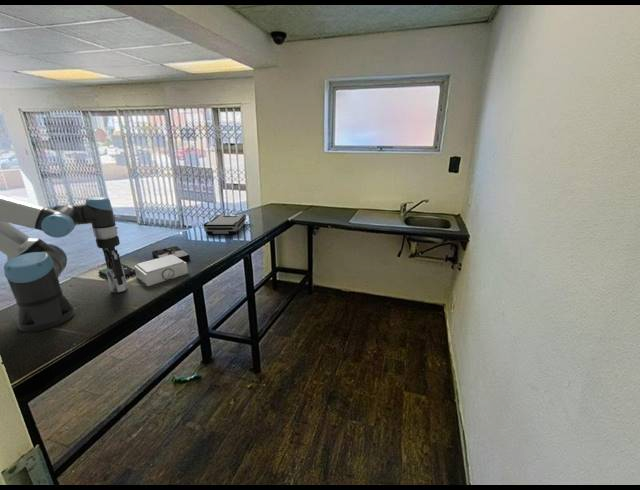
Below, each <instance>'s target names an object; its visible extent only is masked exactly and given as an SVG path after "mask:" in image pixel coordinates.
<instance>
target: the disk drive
mask: <svg viewBox="0 0 640 490" xmlns="http://www.w3.org/2000/svg"><path fill="white" fill-rule="evenodd" d="M121 266H123V269H124V273H125V278H126V279H128V278H127V277H129V278H131V277H134V276H136V273H135V268H132V267H130V266H127V265H125V264H123V263H121ZM106 269H107V267H106V268H103V269H99V271H98V275H99V276H101V277H103V278H105V279H106V278H107V274H106ZM133 275H134V276H133ZM130 276H131V277H130Z"/></svg>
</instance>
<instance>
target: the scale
mask: <svg viewBox="0 0 640 490" xmlns="http://www.w3.org/2000/svg"><path fill="white" fill-rule="evenodd" d="M133 267H134V268H133V269H135V273H136V275H135V276H136V278H137V279H138V280H140V281H141V282H142V283H143V284H144V283H145V284H144V285H145V286H146V287H150V286H152V285H156V284H159V283H162V282H165V281H169V280H172V279H175V278H177V277H181V276H185V275H187V274H189V270H188V264H187V261H186V262H184V261H183V260H181V259H179V258H178V257H176V256H174V255H168V256H165V257H161V258H157V259H155V258H154V259H151V260H146V261H143V262H140V263H136V265H133Z"/></svg>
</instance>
